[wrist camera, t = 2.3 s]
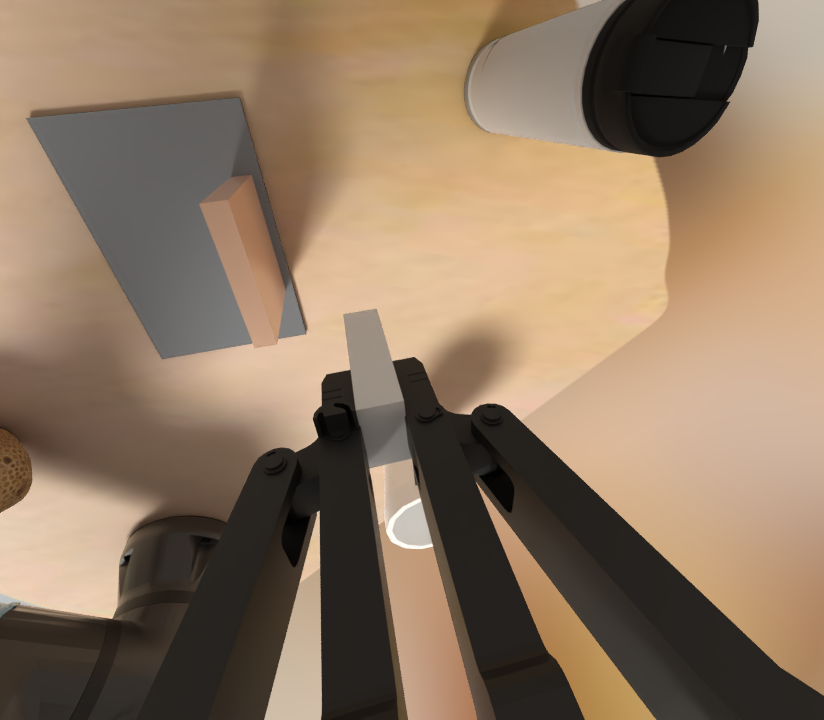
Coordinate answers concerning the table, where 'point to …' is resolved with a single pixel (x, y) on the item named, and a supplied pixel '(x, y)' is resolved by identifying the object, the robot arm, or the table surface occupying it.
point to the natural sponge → (13, 470)
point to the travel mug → (615, 74)
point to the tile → (247, 256)
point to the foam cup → (404, 507)
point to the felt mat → (165, 212)
